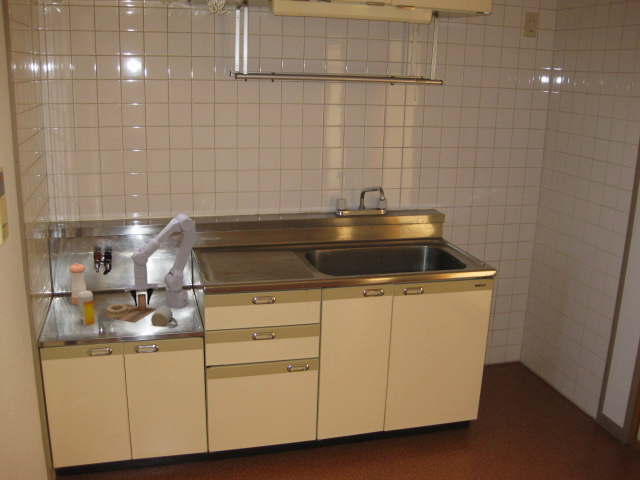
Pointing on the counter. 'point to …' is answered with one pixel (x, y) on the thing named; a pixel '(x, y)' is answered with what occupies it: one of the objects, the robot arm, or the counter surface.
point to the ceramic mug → (163, 317)
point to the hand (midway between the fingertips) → (142, 304)
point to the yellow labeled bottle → (86, 307)
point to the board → (132, 314)
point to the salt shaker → (77, 281)
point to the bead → (117, 310)
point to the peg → (142, 302)
